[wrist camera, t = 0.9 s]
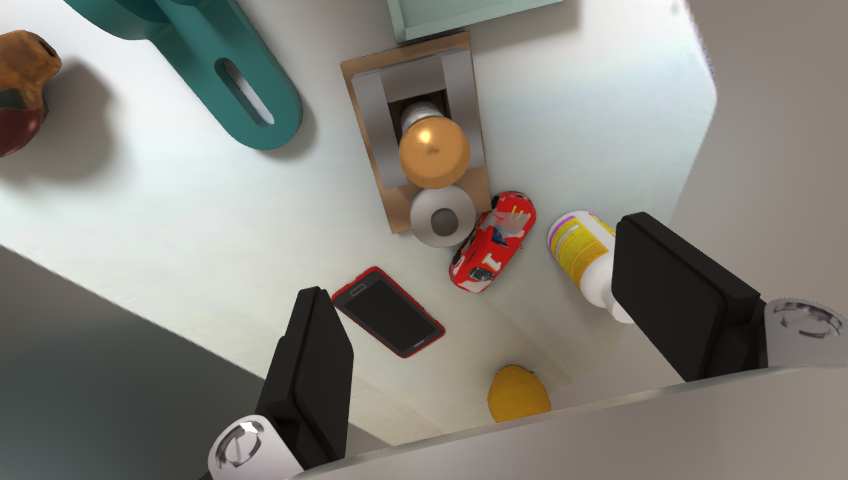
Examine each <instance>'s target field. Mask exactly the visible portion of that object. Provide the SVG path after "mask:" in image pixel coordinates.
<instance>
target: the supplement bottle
mask: <svg viewBox="0 0 848 480" xmlns="http://www.w3.org/2000/svg"><path fill="white" fill-rule="evenodd" d="M615 236H616V232H615V231H614V230H613V229H611V228H610V227H609V226H608V225H607V224H606V223H605V222H603V221H602V220H601V219H600V218H599V217H597V216H596V215H595V214H593V213H591V212H588V211H574V212H570V213H567V214H565V215H564V216H562V217H560V218H559V219H558V220H557V221H556V222H555V223H554V224H553V225H552V227H551V229H550V230H549V233H548V236H547V245H548V248H549V250H550V252H551V253H552V255H553V256H554V257H555V259H556V260H557V261H558V263H559V264H560V265H561V267H562V268H563V269H564V271H565V272H566V273H567V274H568V276H569V277H570V278H571V280H572V281H573V282H574V284H575V285H576V286H577V288H578V289H579V290H580V292H581V293H582V294H583V296H584V297H585V298H586V299H587V300H588V301H589V302H590V303H591V304H593V305H595V306H597V307H601V308H607V310H608V311H609V312H610V314H611V315H612V316H613V317H614V318H615V319H616V320H617V321H619V322H621V323H635V322H634V321H633V320H632V318H631V317H630V316H629V315H628V314H627V313H626V311H625V310H624V309H623V308H622V307H621V306H620V304H619V303H618V302H617V301H616V300H615V298H614V297H613V295H612V292H611V281H612V270H613V259H614V248H615Z"/></svg>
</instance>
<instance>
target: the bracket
mask: <svg viewBox="0 0 848 480" xmlns="http://www.w3.org/2000/svg"><path fill="white" fill-rule="evenodd" d="M64 1H65V2H66V3H67V4H68V5H69V6H71V7H72V8H73V9H74V10H75V11H77V12H78V13H79V14H80V15H82V16H83V17H84V18H86V19H87V20H88V21H90V22H91V23H93V24H94V25H96V26H97V27H99V28H101V29H102V30H104V31H106V32H108V33H110V34H112V35H114V36H116V37H119V38H122V39H126V40H143V39H147V40H149V41H151V42H152V43H153V44H154V45H155V46H156V47H157V49H158V50H159V51H160V52H161V53H162V55H163V56H164V57H165V58H166V59H167V61H168V62H169V63H170V64H171V65H172V67H173V68H174V69H175V70H176V71H177V73H178V74H179V75H180V76H181V77H182V78H183V80H184V81H185V82H186V83H187V84H188V86H189V87H190V88H191V89H192V90H193V92H194V93H195V94H196V95H197V96H198V98H199V99H200V100H201V101H202V102H203V104H204V105H205V106H206V107H207V108H208V110H209V111H210V112H211V113H212V114H213V116H214V117H215V118H216V119H217V120H218V122H219V123H220V124H221V125H222V126H223V128H224V129H225V130H226V131H227V132H228V133H229V134H230V135H231V136H232V137H233V138H234V139H236V140H237V141H238V142H240V143H242V144H244V145H246V146H248V147H251V148H254V149H260V150H270V149H275V148H278V147H280V146H282V145H284V144H285V143H287V142H288V141H289V140H290V139H291V138H292V136H293V135H294V134H295V133H296V131H297V130H298V128H299V126H300V124H301V121H302V115H303V109H302V103H301V99H300V96H299V94H298V92H297V90H296V89H295V87H294V86H293V84H292V83H291V81H290V80H289V78H288V77H287V75H286V74H285V72H284V71H283V69H282V68H281V66H280V65H279V64H278V62H277V61H276V59H275V58H274V56H273V55H272V53H271V52H270V50H269V49H268V47H267V46H266V45H265V43H264V42H263V40H262V39H261V37H260V36H259V34H258V33H257V31H256V30H255V28H254V27H253V25H252V24H251V23H250V21H249V20H248V18H247V17H246V15H245V14H244V12H243V11H242V9H241V8H240V6H239V5H238V4H237V2H236V1H235V0H64ZM226 58H227V59H229V60H231V61H232V62H233V63H234V64H235V66H236V67H237V69H238V70H239V71H240V73H241V74H242V75H243V77H244V78H245V79H246V81H247V82H248V83H249V85H250V86H251V87H252V89H253V90H254V91H255V93H256V94H257V95H258V97H259V98H260V99H261V101H262V102H263V103H264V105H265V106H266V107H267V109H268V110H269V111H270V113H271V114H272V115H273V117H274V124H269V123H267V122H265V121H264V120H263V119H262V117H261V116H260V115H259V113H258V112H257V111H256V109H255V108H254V107H253V106H252V104H251V103H250V102H249V100H248V99H247V98H246V96H245V95H244V94H243V92H242V91H241V90H240V89H239V87H238V86H237V85H236V83H235V82H234V81H233V79H232V78H231V77H230V75H229V74H228V73H227V72H226V70H225V68H224V61H225V59H226Z"/></svg>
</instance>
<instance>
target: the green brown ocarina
mask: <svg viewBox="0 0 848 480" xmlns="http://www.w3.org/2000/svg"><path fill="white" fill-rule="evenodd" d="M61 66H62V64H61V59H60V58H59V56H58V55H57V53H56V51H55V50H54V49H53V48H52V47H51V46H50V45H49V44H48V43H47V42H46V41H45V40H44V39H42V38H41V37H40V36H38V35H37V34H34V33H31V32H28V31H25V30H16V31H13V32H9V33H6V34H3V35H0V157H3V156H6V155H9V154H11V153H13V152H15V151H17V150H19V149H21V148H22V147H23V146H25V145H26V144H27V143H28V142H29V141H30V140H31V139H32V138H33V137H34V136H35V134H36V133H37V132H38V130H39V128H40V126H41V124H42V123H43V122H44V119H45V118H46V116H47V114H48V112H49V110H48V105H47V104H46V103H45V102H44V100H43V99H42V93H41V92H42V88H43V86H44V84H45V83H46V82H47V81H48V80H49V79H50V78H51V77H53V76H54V75H55V74H56V73H57V72H58V71H59V70H60V69H61Z"/></svg>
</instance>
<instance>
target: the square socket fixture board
mask: <svg viewBox="0 0 848 480" xmlns="http://www.w3.org/2000/svg"><path fill="white" fill-rule="evenodd" d="M340 66H341V69H342V72H343V75H344V79H345V82H346V85H347V88H348V92H349V95H350V98H351V101H352V105H353V108H354V111H355V114H356V118H357V121H358V124H359V127H360V131H361V134H362V137H363V140H364V144H365V147H366V150H367V153H368V157H369V160H370V163H371V166H372V170H373V173H374V176H375V179H376V182H377V186H378V189H379V192H380V195H381V199H382V202H383V205H384V208H385V212H386V215H387V218H388V221H389V225H390V228H391V231H392V234H395V233H399V232H404V231H408V230H413V232H414V234H415V235H416V237H417V238H418V239H419V240H420V241H421V242H423V243H424V244H426V245H429V246H432V247H437V248H445V247H450V246H454V245H456V244H458V243H460V242H461V241H463V240H464V239H465V238H466V237H467V236H468V235H469V234H470V233H471V231H472V229H473V228H474V225H475V221H476V214H479V213H483V212H487V211H491V210H492V207H491V199H490V192H489V184H488V176H487V169H486V161H485V153H484V146H483V138H482V130H481V122H480V115H479V107H478V99H477V92H476V84H475V76H474V69H473V61H472V53H471V46H470V38H469V31H462V32H458V33H454V34H450V35H446V36H442V37H438V38H435V39H431V40H427V41H423V42H419V43H415V44H411V45H407V46H403V47H399V48H395V49H391V50H387V51H383V52H379V53H376V54H372V55H368V56H364V57H360V58H356V59H352V60H348V61H344V62H341V63H340ZM422 94H423V95H426V96H428V97H430V98H431V99H432V100H433V101H434V103H435V104H436V106H437V107H438V109H439V110H440V112H441V113H442V115H443V116H444V117H446V118H449V119H450V120H452V121H454V122H455V123H456V124H457V125H458V126H459V127H460V128H461V130H462V131H463V132H464V134H465V135H466V137H467V139H468V142H469V145H470V161H469V164H468V167H467V169H466V171H465V172H464V174H463V175H462V176H461V177H460V178H459V179H458V180H457V181H456V182H455V183H453V184H452V185H450V186H447V187H445V188H441V189H426V188H422V187H420V186H418V185H416V184H414V183H413V182H412V181H410V180H409V179H408V177H407V176H406V175H405V173H404V171H403V169H402V167H401V163H400V156H399V145H400V140H401V138H402V135H403V134H402V128H401V123H400V117H399V111H400V107H401V105H402V103H403V101H404V100H405V99H406V98H410V97H414V96H418V95H422Z"/></svg>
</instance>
